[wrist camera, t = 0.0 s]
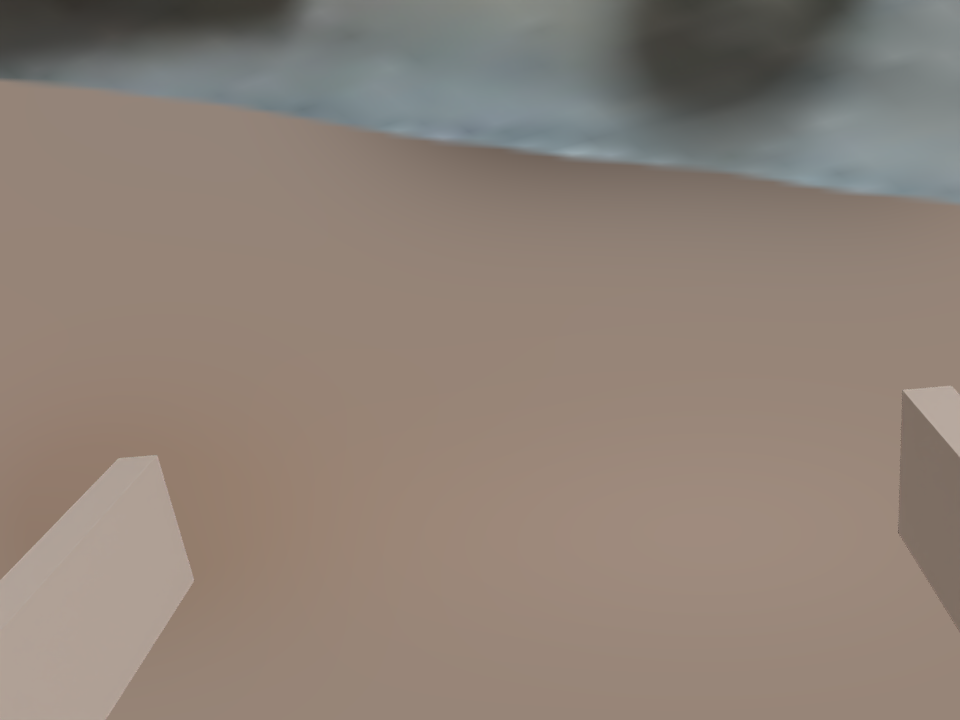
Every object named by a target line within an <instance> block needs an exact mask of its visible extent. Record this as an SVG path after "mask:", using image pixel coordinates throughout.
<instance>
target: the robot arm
mask: <svg viewBox="0 0 960 720" xmlns="http://www.w3.org/2000/svg"><path fill="white" fill-rule="evenodd" d="M901 425H902V426H901V457H900V458H901V459H900V490H899V494H900V495H899V524H898V526H899V527H898V533H899V535H900V536H901V538H902V540H903V541H904V543H905V544H906V546H907V548H908V549H909V551H910V553H911V554H912V556H913V557H914V559H915V561H916V562H917V564H918V565H919V567H920V569H921V570H922V572H923V574H924V575H925V577H926V578H927V580H928V582H929V583H930V585H931V587H932V588H933V590H934V591H935V593H936V594H937V596H938V598H939V599H940V601H941V603H942V604H943V606H944V608H945V609H946V611H947V613H948V614H949V616H950V617H951V619H952V621H953V622H954V624H955V625H956V627H957V629H958V630H959V632H960V394H959V393H958V392H957V391H956V390H955V389H954V388H953V387H952V386H944V387H932V388H921V389H909V390H902V423H901ZM193 582H194V578H193V575H192V571H191V568H190V565H189V561H188V558H187V554H186V551H185V548H184V545H183V541H182V538H181V534H180V531H179V528H178V524H177V521H176V517H175V514H174V510H173V507H172V504H171V500H170V497H169V493H168V490H167V487H166V484H165V480H164V477H163V474H162V470H161V466H160V463H159V460H158V456H157V455H153V456H141V457H130V458H119V459H117V460H116V461H115V462H114V464H113V465H112V466H111V467H110V468H109V469H108V470H107V471H106V472H105V473H104V474H103V475H102V476H101V477H100V478H99V479H98V480H97V481H96V482H95V483H94V484H93V485H92V486H91V487H90V488H89V489H88V490H87V491H86V492H85V493H84V495H83V496H82V497H81V498H80V499H79V500H78V501H77V502H76V503H75V504H74V505H73V506H72V507H71V508H70V509H69V510H68V511H67V512H66V513H65V514H64V515H63V516H62V517H61V518H60V519H59V520H58V521H57V522H56V523H55V524H54V525H53V527H52V528H51V529H50V530H49V531H48V532H47V533H46V534H45V535H44V536H43V537H42V538H41V539H40V540H39V541H38V542H37V543H36V544H35V545H34V546H33V547H32V548H31V549H30V550H29V551H28V552H27V553H26V554H25V555H24V557H23V558H22V559H21V560H20V561H19V562H18V563H17V564H16V565H15V566H14V567H13V568H12V569H11V570H10V571H9V572H8V573H7V574H6V575H5V576H4V577H3V578H2V579H1V580H0V720H106V718H107V717H108V715H109V714H110V712H111V711H112V709H113V707H114V706H115V704H116V703H117V701H118V699H119V698H120V696H121V695H122V693H123V692H124V690H125V688H126V687H127V685H128V684H129V682H130V681H131V679H132V678H133V676H134V674H135V673H136V671H137V670H138V668H139V666H140V665H141V663H142V662H143V660H144V659H145V657H146V656H147V654H148V652H149V651H150V649H151V648H152V646H153V645H154V643H155V641H156V640H157V638H158V637H159V635H160V633H161V632H162V630H163V629H164V627H165V626H166V624H167V623H168V621H169V619H170V618H171V616H172V615H173V613H174V611H175V610H176V608H177V607H178V605H179V604H180V602H181V600H182V599H183V597H184V596H185V594H186V593H187V591H188V590H189V588H190V586H191V585H192V583H193Z"/></svg>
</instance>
